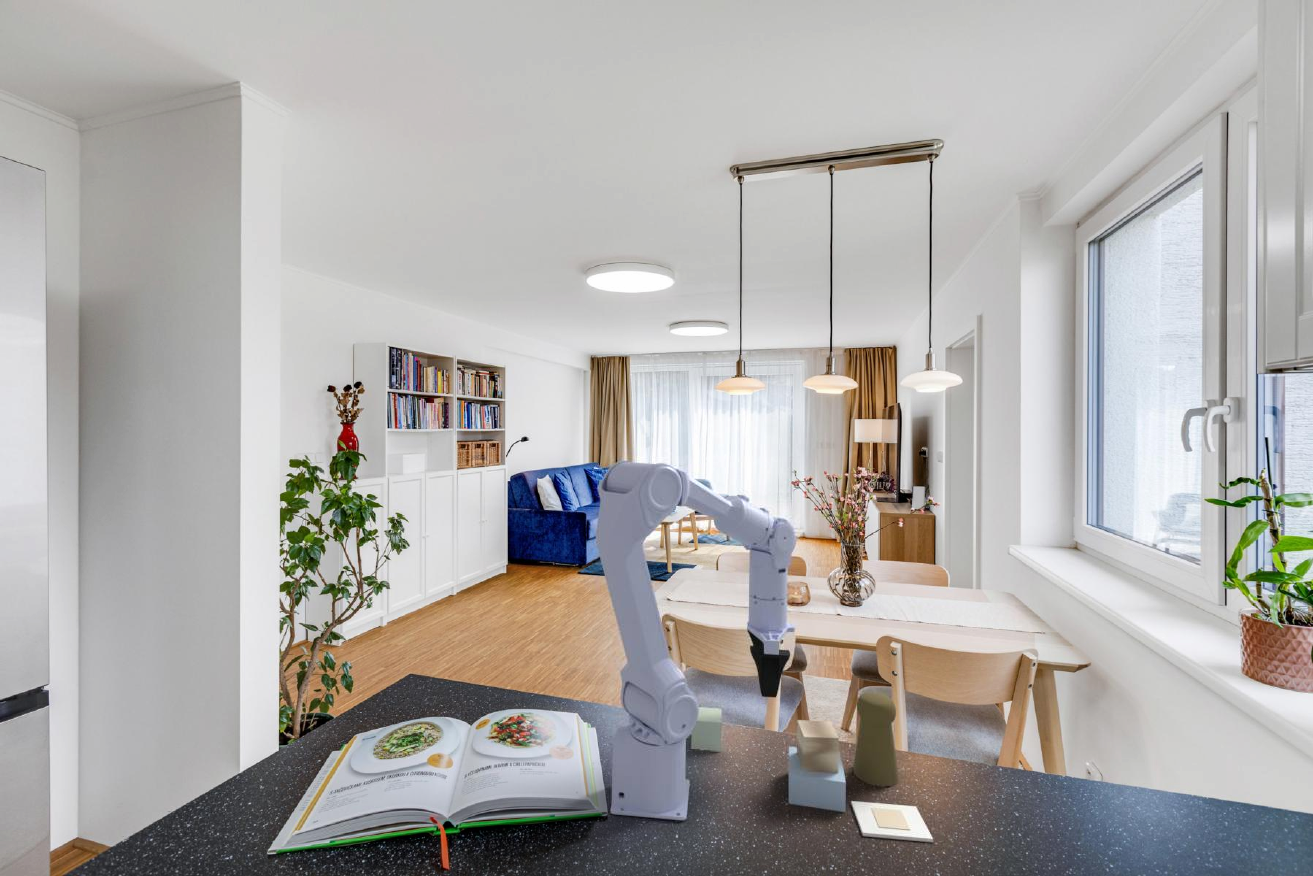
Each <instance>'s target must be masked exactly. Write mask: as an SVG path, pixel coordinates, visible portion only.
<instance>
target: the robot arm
mask: <svg viewBox="0 0 1313 876" xmlns="http://www.w3.org/2000/svg"><path fill="white" fill-rule="evenodd" d="M597 493H598V495H599V499H600V500H599V501H600V504H599V511H598V514H597V515H598V517H597V521H596V522H597V523H596V530H595V541H596V542H595V544H596V546H597V551H598V555H599V559H600V562H601V566H602V570H603V575H604V577H605V582H606V585H607V588H608V592H609V597H610V600H611V601H610V602H611V604H612V607H613V613H614V616H615V618H616V623H617V627H618V631H619V635H620V639H621V642H622V646H623V650H624V653H625V657H626V661H627V663H625V665H624V666H623V667H622V669H621V670H620V672H619V673H620V678H621V690H620V691H621V692H620V703H621V706H622V708H623V710H624V711H625V713H627V714H628V723H629V725H620V726H617V728H616V732H615V735H614V740H613V748H612V758H611V759H612V763H611V764H612V765H611V767H612V768H611V807H610V814H612V815H618V816H619V815H621V816H631V817H643V818H653V819H663V820H675V821H686V819H687V817H688V816H687V815H688V806H689V805H688V804H689V795H690V786H691V785H690V780H689V779H688V778H686V767H687V766H686V764H687V763H686V759H687V757H686V755H687V754H686V753H687V751H686V747H687V745H686V744H687V739H688V738H689V737H690V734H692V730H693V728H694V726H695V724H696V722H697V719H698V714H699V707H700V706H699V705H700V704H699V700H698V698H697V696H696V694H694V692H693V691H692V690H691V689H690V688H689V685H688V682H687V678H686V676H685V675H684V673H683V672H682V670H680V669H679V666H677V664H676V663H675V662H674V660H673V659H672V658H671V655H670V651H669V648H668V647H669V646H668V643H667V639H666V635H665V632H664V626H663V623H662V620H661V615H660V612H659V607H658V603H657V599H656V595H655V590H654V587H653V584H652V579H651V574H650V571H649V567H648V563H647V558H646V555H645V551H644V550H645V549H644V546H643V544H644V542H645V541H646V538H648V537H649V536H650V535H651V534H652V533H653V532H654V531H655V530H656V529H657V528H658V527H659V526H660V525H661V524H662V523H663V522H664V520H666V518H667V517H668V516H669V515H670V514H671V513H672V512H673V511H674V510H675V508H676V507H686V508H688V509H691V510H693V511H695V512H697V513H700V514H701V515H704V516H706V517H709V518H710V519H713V524H714V527H715V529H716V530H717V531H718V532H719V533H721V534H724V535H725V536H728V538H730V539H731V538H732V539H733V540H735V541H737V542H739V543H741V544H742V545H743V548H744V549H745V550H746V551H749V560H748V561H749V568H748V569H749V570H748V571H749V573H748V577H749V578H748V579H749V580H748V589H749V591H748V621H747V622H746V623H747V625H746V626H747V627H746V630H747V634H748V636H749V638H750V640H751V644H752V645H750V646H749V651H750V654H751V657H752V659H753V662H754V664H755V666H756V672H757V675H758V683H759V691H760V694H761V697H763V698H775V699H776V698H777V696H778V693H779V689H780V683H781V680H782V675H783V671H784V669H785V667H786V665H787V663H788V662H789V661H790V658H791V657H790V656H791V652H790V650H789V649H780V642H781V641H782V639H784V637H785V636H786V634H788V633H794V632H796V626H795V625H794V623H789V622H788V572H789V571H788V570H789V569H788V568H789V567H790V566H791V563H792V555H793V552H794V549H795V547H796V545H797V539H798V536H797V535H796V532H795V529H794V527H793V525H792V524H790V521H788V520H787V519H786V518H782V517H775V516H772V515H771V514H770V511H769V509H767V508H763V507H757V506H756V505H753V504H752V503H750V498H749V497H748V496H746V495H743V494H737V495H729V496H727V497H723V496H722V495H721V494H718V493H717V492H715V491H713V490H712V489H711V488H709V487H707V486H706V485H704V484H703V483H701V482H700V481H698V480H696V479H695V478H694V477H692V476H690V475H689V474H688V473H687V472H686V471H685V470H682V469H678V468H675V467H674V466H672V465H671V464H669V463H664V462H657V463H649V462H648V463H647V462H633V461H630V460H629V461H628V460H619V461H617V462H615V463H613V464H612V465H611V466H610V467H609V468H608V469H607V470H606V471H605V473H604V475H603V477H602V478H601V480H600V481H599V483H598V485H597Z"/></svg>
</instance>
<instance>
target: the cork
mask: <svg viewBox="0 0 1313 876" xmlns="http://www.w3.org/2000/svg"><path fill="white" fill-rule="evenodd" d="M856 710H857V713H858V715H859V717H860V721H859V729H858V734H857V741H856V747H855V748H856V749H855V754H854V755H855V756H854V760H853V768H852V769H853V770H852V772H853V774H854V776H856V777H857V778H858V779H859V780H860V781H863V782H864V783H865V782H866V784H868V785H871V784H872V785H871V786H874V785H877V786H876V787H879V786H882V787H881V788H885V786H889V787H892V786H895V785H897V784H898V782H899V781H900V780H899V771H898V764H897V756H896V747H895V740H894V732H893V725H892V723H893V722H894V721H895V719H896V716H897V708H896V704H895V702H894V701H893V699H892V698H890V697H889V696H888V695H885V694H883V693H880V692H875V691H874V692H873V691H868V692H864V693H862V694H860V695H859V696H858V699H857V701H856ZM894 784H895V785H894ZM883 786H884V787H883Z"/></svg>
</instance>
